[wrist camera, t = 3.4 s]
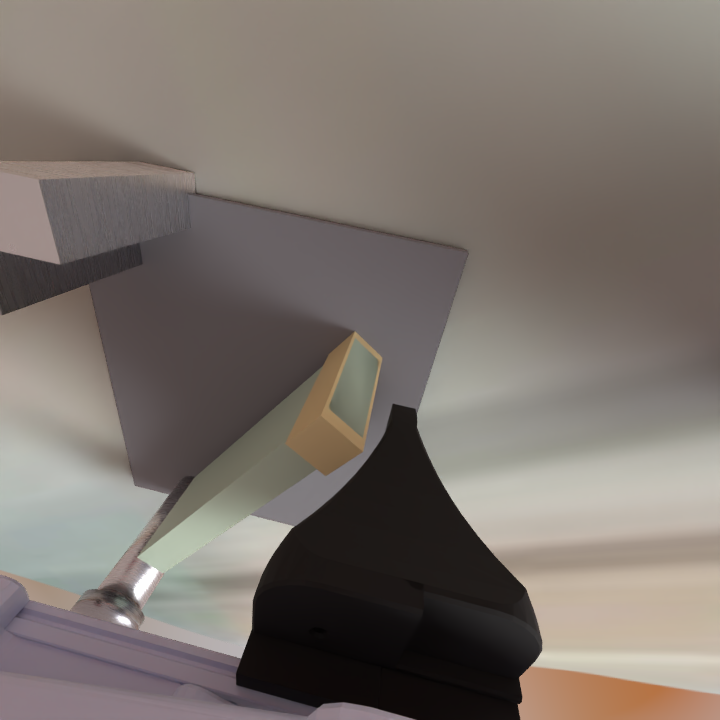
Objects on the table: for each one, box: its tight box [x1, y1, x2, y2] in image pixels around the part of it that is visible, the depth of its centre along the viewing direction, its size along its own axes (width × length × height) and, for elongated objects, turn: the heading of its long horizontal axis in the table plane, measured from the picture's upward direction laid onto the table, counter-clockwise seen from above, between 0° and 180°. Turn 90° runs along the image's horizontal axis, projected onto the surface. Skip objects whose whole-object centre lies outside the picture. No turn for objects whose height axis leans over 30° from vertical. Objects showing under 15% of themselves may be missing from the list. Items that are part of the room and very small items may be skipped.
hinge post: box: [70, 476, 195, 630], centre depth 16 cm, size 2×2×7 cm
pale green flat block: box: [137, 332, 382, 573], centre depth 13 cm, size 1×11×5 cm, turn 135°
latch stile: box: [0, 161, 196, 315], centre depth 10 cm, size 3×3×5 cm
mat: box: [89, 194, 468, 526], centre depth 15 cm, size 13×15×1 cm
